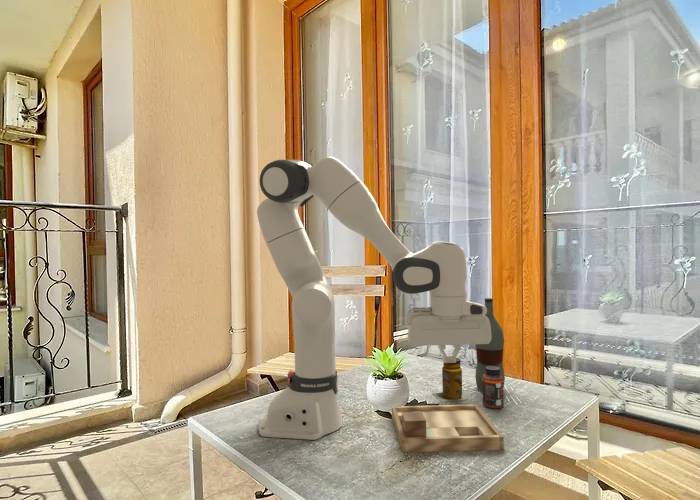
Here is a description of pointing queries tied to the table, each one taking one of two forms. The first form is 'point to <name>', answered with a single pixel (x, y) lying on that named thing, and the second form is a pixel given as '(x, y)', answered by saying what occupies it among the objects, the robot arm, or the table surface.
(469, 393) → the table surface
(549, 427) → the table surface
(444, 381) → the condiment
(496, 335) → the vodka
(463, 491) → the table surface
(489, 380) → the supplement bottle
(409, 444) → the wooden compartment tray
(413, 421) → the walnut block
